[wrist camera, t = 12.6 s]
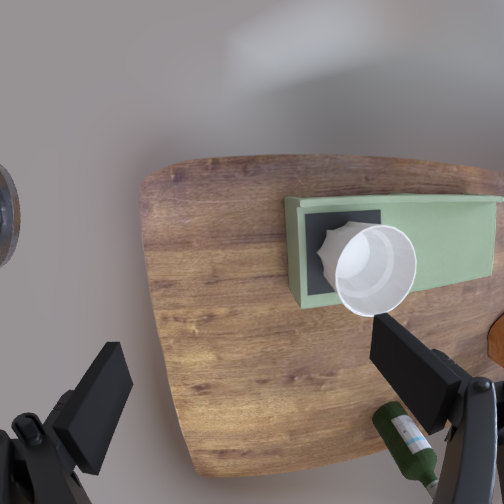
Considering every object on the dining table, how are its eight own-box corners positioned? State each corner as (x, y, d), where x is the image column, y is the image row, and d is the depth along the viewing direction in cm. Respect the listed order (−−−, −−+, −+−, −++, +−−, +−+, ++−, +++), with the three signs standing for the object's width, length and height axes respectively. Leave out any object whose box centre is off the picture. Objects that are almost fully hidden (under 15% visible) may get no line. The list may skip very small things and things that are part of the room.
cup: (367, 205, 38) (406, 212, 28) (384, 271, 40) (422, 294, 30) (300, 231, 38) (323, 245, 28) (322, 298, 40) (348, 330, 30)
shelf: (288, 288, 49) (304, 315, 38) (283, 197, 46) (299, 199, 35) (463, 264, 51) (498, 278, 40) (466, 192, 48) (503, 196, 37)
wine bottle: (371, 429, 59) (419, 518, 29) (373, 407, 57) (430, 503, 28) (398, 418, 59) (453, 500, 30) (402, 397, 57) (466, 482, 28)
